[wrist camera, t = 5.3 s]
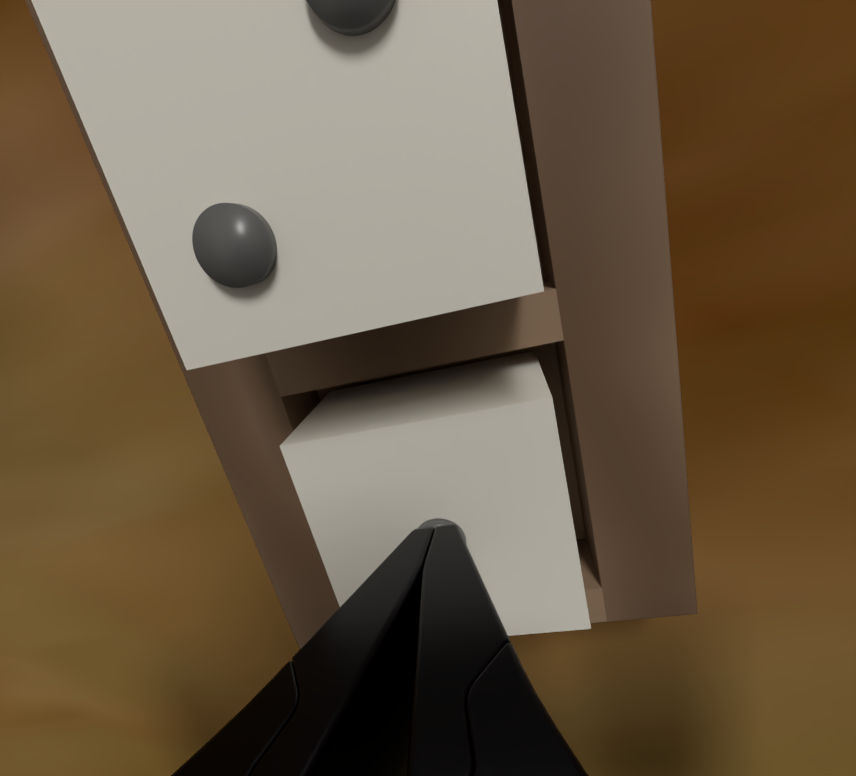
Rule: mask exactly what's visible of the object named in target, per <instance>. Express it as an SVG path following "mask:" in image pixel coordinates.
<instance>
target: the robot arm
mask: <svg viewBox="0 0 856 776" xmlns="http://www.w3.org/2000/svg"><path fill="white" fill-rule="evenodd" d="M292 661H293V662H292ZM292 661H289V662H288V663H287V664H286V665H285V666H284V667H283V668H282V669H281V670H280V671H279V672H278V673H277V674H276V675H275V676H274V678H273V679H272V680H271V681H270V682H269V683H268V684H267V685H266V686H265V687H264V688H263V689H262V690H261V691H260V692H259V693H258V694H257V695H256V696H255V697H254V698H253V699H252V700H251V701H250V702H249V703H248V704H247V705H246V706H245V707H244V708H243V709H242V710H241V711H240V712H239V713H238V714H237V715H236V716H235V717H234V718H233V719H232V720H230V721H229V722H228V723H227V724H226V725H225V726H224V727H223V728H222V729H221V730H220V731H219V732H218V733H217V734H216V735H215V736H214V737H213V738H212V739H210V740H209V741H208V742H207V743H206V744H205V745H204V746H203V747H202V748H201V749H200V750H199V751H197V752H196V753H195V754H194V755H193V756H192V757H191V758H190V759H189V760H188V761H187V762H186V763H184V764H183V765H182V766H181V767H180V768H179V769H178V770H177V771H176V772H175V773H174V774H172V775H171V776H588V775H587V773H586V772H585V770H584V768H583V767H582V765H581V764H580V762H579V761H578V759H577V758H576V756H575V755H574V753H573V752H572V750H571V749H570V747H569V745H568V744H567V742H566V741H565V739H564V738H563V736H562V735H561V733H560V732H559V730H558V729H557V727H556V726H555V724H554V722H553V721H552V719H551V717H550V716H549V714H548V712H547V711H546V709H545V707H544V706H543V704H542V702H541V701H540V699H539V697H538V696H537V694H536V692H535V690H534V688H533V686H532V684H531V683H530V681H529V679H528V677H527V675H526V673H525V671H524V669H523V667H522V665H521V663H520V660H519V658H518V656H517V654H516V652H515V649H514V647H513V645H512V644H511V641H510V639H509V637H508V635H507V633H506V630H505V628H504V626H503V624H502V622H501V619H500V617H499V615H498V613H497V611H496V608H495V606H494V604H493V602H492V600H491V598H490V595H489V593H488V591H487V589H486V587H485V584H484V582H483V580H482V578H481V576H480V573H479V571H478V569H477V567H476V565H475V563H474V560H473V558H472V556H471V554H470V552H469V549H468V547H467V545H466V543H465V541H464V538H463V536H462V534H461V532H460V530H459V528H458V526H457V525H456V524H449V525H441V526H437V527H436V528H434V527H427V528H419V529H414V530H413V531H412V532H411V533H410V534H409V535H408V536H407V537H406V538H405V539H404V540H403V541H402V542H401V543H400V544H399V545H398V546H397V547H396V548H395V550H394V551H393V552H392V553H391V554H390V555H389V556H388V557H387V558H386V559H385V560H384V561H383V562H382V563H381V564H380V565H379V566H378V568H377V569H376V570H375V571H374V572H373V573H372V574H371V575H370V576H369V577H368V578H367V579H366V580H365V581H364V582H363V583H362V584H361V586H360V587H359V588H358V589H357V590H356V591H355V592H354V593H353V594H352V595H351V596H350V597H349V598H348V599H347V600H346V601H345V603H344V604H343V605H342V606H341V607H340V608H339V609H338V610H337V611H336V612H335V613H334V614H333V615H332V616H331V617H330V618H329V619H328V621H327V622H326V623H325V624H324V625H323V626H322V627H321V628H320V629H319V630H318V631H317V632H316V633H315V634H314V635H313V636H312V637H311V639H310V640H309V641H308V642H307V643H306V644H305V645H304V646H303V647H302V648H301V649H300V650H299V651H298V652H297V653H296V654H295V655H294V657H293V658H292Z"/></svg>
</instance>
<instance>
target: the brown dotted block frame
mask: <svg viewBox="0 0 856 776" xmlns="http://www.w3.org/2000/svg"><path fill="white" fill-rule="evenodd" d="M497 2H498V8H499V14H500V20H501V27H502V33H503V39H504V45H505V51H506V58H507V64H508V70H509V76H510V82H511V89H512V95H513V101H514V107H515V113H516V120H517V126H518V132H519V138H520V144H521V151H522V157H523V163H524V169H525V175H526V182H527V188H528V194H529V200H530V206H531V213H532V219H533V225H534V231H535V237H536V243H537V250H538V256H539V262H540V268H541V274H542V281H543V287H544V292H539V293H534V294H530V295H525V296H521V297H516V298H512V299H507V300H503V301H498V302H494V303H489V304H485V305H480V306H476V307H471V308H467V309H462V310H458V311H453V312H449V313H444V314H440V315H435V316H431V317H426V318H422V319H417V320H412V321H408V322H403V323H399V324H394V325H390V326H385V327H381V328H376V329H372V330H367V331H363V332H358V333H354V334H349V335H345V336H340V337H336V338H331V339H327V340H322V341H318V342H313V343H309V344H304V345H299V346H295V347H290V348H286V349H281V350H277V351H272V352H268V353H263V354H259V355H254V356H250V357H245V358H241V359H236V360H232V361H227V362H223V363H218V364H214V365H209V366H205V367H200V368H196V369H191V370H186V368H185V365H184V363H183V360H182V358H181V356H180V353H179V351H178V349H177V346H176V344H175V341H174V339H173V337H172V334H171V332H170V329H169V327H168V325H167V322H166V320H165V318H164V315H163V313H162V310H161V308H160V306H159V303H158V301H157V299H156V296H155V294H154V291H153V289H152V287H151V284H150V282H149V279H148V277H147V275H146V272H145V270H144V268H143V265H142V263H141V260H140V258H139V256H138V253H137V251H136V249H135V246H134V244H133V241H132V239H131V237H130V234H129V232H128V229H127V227H126V225H125V222H124V220H123V218H122V215H121V213H120V210H119V208H118V206H117V203H116V201H115V198H114V196H113V194H112V191H111V189H110V187H109V184H108V182H107V179H106V177H105V175H104V172H103V170H102V168H101V165H100V163H99V160H98V158H97V156H96V153H95V151H94V148H93V146H92V144H91V141H90V139H89V137H88V134H87V132H86V129H85V127H84V125H83V122H82V120H81V118H80V115H79V113H78V110H77V108H76V106H75V103H74V101H73V98H72V96H71V94H70V91H69V89H68V87H67V84H66V82H65V79H64V77H63V75H62V72H61V70H60V67H59V65H58V63H57V60H56V58H55V56H54V53H53V51H52V48H51V46H50V44H49V41H48V39H47V37H46V34H45V32H44V29H43V27H42V25H41V22H40V20H39V17H38V15H37V13H36V10H35V8H34V6H33V3H32V1H31V0H26V3H27V5H28V8H29V10H30V12H31V15H32V17H33V19H34V22H35V24H36V26H37V29H38V31H39V34H40V36H41V38H42V41H43V43H44V45H45V48H46V50H47V52H48V55H49V57H50V60H51V62H52V64H53V67H54V69H55V71H56V74H57V76H58V78H59V81H60V83H61V86H62V88H63V90H64V93H65V95H66V97H67V100H68V102H69V104H70V107H71V109H72V111H73V114H74V116H75V119H76V121H77V123H78V126H79V128H80V130H81V133H82V135H83V137H84V140H85V142H86V145H87V147H88V149H89V152H90V154H91V156H92V159H93V161H94V163H95V166H96V168H97V171H98V173H99V175H100V178H101V180H102V182H103V185H104V187H105V189H106V192H107V194H108V197H109V199H110V201H111V204H112V206H113V208H114V211H115V213H116V215H117V218H118V220H119V223H120V225H121V227H122V230H123V232H124V234H125V237H126V239H127V241H128V244H129V246H130V249H131V251H132V253H133V256H134V258H135V260H136V263H137V265H138V267H139V270H140V272H141V275H142V277H143V279H144V282H145V284H146V286H147V289H148V291H149V293H150V296H151V298H152V301H153V303H154V305H155V308H156V310H157V312H158V315H159V317H160V319H161V322H162V324H163V327H164V329H165V331H166V334H167V336H168V338H169V341H170V343H171V345H172V348H173V350H174V353H175V355H176V357H177V360H178V362H179V364H180V367H181V369H182V371H183V374H184V376H185V379H186V381H187V383H188V386H189V388H190V390H191V393H192V395H193V397H194V400H195V402H196V405H197V407H198V409H199V412H200V414H201V416H202V419H203V421H204V423H205V426H206V428H207V431H208V433H209V435H210V438H211V440H212V442H213V445H214V447H215V449H216V452H217V454H218V457H219V459H220V461H221V464H222V466H223V468H224V471H225V473H226V475H227V478H228V480H229V483H230V485H231V487H232V490H233V492H234V494H235V497H236V499H237V501H238V504H239V506H240V509H241V511H242V513H243V516H244V518H245V520H246V523H247V525H248V527H249V530H250V532H251V535H252V537H253V539H254V542H255V544H256V546H257V549H258V551H259V553H260V556H261V558H262V561H263V563H264V565H265V568H266V570H267V572H268V575H269V577H270V579H271V582H272V584H273V587H274V589H275V591H276V594H277V596H278V598H279V601H280V603H281V605H282V608H283V610H284V613H285V615H286V617H287V620H288V622H289V624H290V627H291V629H292V631H293V634H294V636H295V639H296V641H297V643H298V646H299V648H302V647H303V646H304V645H305V644H306V643H307V642H308V641H309V640H310V639H311V637H312V636H313V635H314V634H315V633H316V632H317V631H318V630H319V629H320V628H321V627H322V626H323V625H324V624H325V623H326V622H327V621H328V619H329V618H330V617H331V616H332V615H333V614H334V613H335V612H336V611H337V610H338V609H339V608H340V606H339V604H338V601H337V598H336V596H335V593H334V590H333V588H332V585H331V582H330V580H329V577H328V574H327V572H326V569H325V566H324V564H323V561H322V558H321V556H320V553H319V550H318V548H317V545H316V542H315V540H314V537H313V534H312V532H311V529H310V526H309V524H308V521H307V518H306V516H305V513H304V510H303V508H302V505H301V502H300V500H299V497H298V494H297V492H296V489H295V486H294V484H293V481H292V478H291V476H290V473H289V470H288V468H287V465H286V462H285V460H284V457H283V454H282V452H281V449H280V445H281V444H282V443H283V442H284V441H285V440H286V439H287V437H288V436H289V435H290V434H291V433H292V432H293V431H294V430H295V429H296V428H297V427H298V426H299V424H300V423H301V422H302V421H303V420H304V419H305V418H306V417H307V416H308V415H309V414H310V413H311V411H312V410H313V409H314V408H315V407H316V406H317V405H318V404H319V403H320V402H321V401H322V400H323V398H324V397H325V396H326V395H327V394H328V393H329V392H330V391H334V390H339V389H344V388H349V387H354V386H359V385H364V384H369V383H374V382H379V381H384V380H389V379H394V378H399V377H404V376H409V375H414V374H419V373H424V372H429V371H434V370H439V369H444V368H450V367H455V366H460V365H465V364H470V363H475V362H480V361H485V360H490V359H495V358H500V357H505V356H510V355H515V354H520V353H525V352H530V351H535V353H536V356H537V359H538V361H539V364H540V367H541V369H542V372H543V374H544V377H545V380H546V382H547V385H548V387H549V390H550V393H551V395H552V398H553V404H554V410H555V416H556V422H557V428H558V434H559V440H560V446H561V452H562V458H563V464H564V470H565V476H566V482H567V488H568V494H569V500H570V506H571V512H572V518H573V524H574V530H575V536H576V541H577V547H578V553H579V559H580V565H581V571H582V577H583V583H584V589H585V595H586V601H587V607H588V613H589V619H590V623H598V622H610V621H621V620H633V619H644V618H656V617H667V616H679V615H690V614H697V602H696V589H695V576H694V563H693V549H692V536H691V523H690V510H689V497H688V484H687V471H686V458H685V445H684V432H683V418H682V405H681V392H680V379H679V366H678V353H677V340H676V327H675V314H674V301H673V287H672V274H671V261H670V248H669V235H668V222H667V209H666V196H665V183H664V170H663V157H662V143H661V130H660V117H659V104H658V91H657V78H656V65H655V52H654V39H653V26H652V12H651V0H497Z"/></svg>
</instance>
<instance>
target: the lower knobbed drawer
mask: <svg viewBox="0 0 856 776" xmlns="http://www.w3.org/2000/svg"><path fill="white" fill-rule="evenodd" d="M280 449H281V452H282V454H283V457H284V460H285V462H286V465H287V468H288V470H289V473H290V476H291V478H292V481H293V484H294V486H295V489H296V492H297V494H298V497H299V500H300V502H301V505H302V508H303V510H304V513H305V516H306V518H307V521H308V524H309V526H310V529H311V532H312V534H313V537H314V540H315V542H316V545H317V548H318V550H319V553H320V556H321V558H322V561H323V564H324V566H325V569H326V572H327V574H328V577H329V580H330V582H331V585H332V588H333V590H334V593H335V596H336V598H337V601H338V604H339V606H340V607H341V606H342V605H343V604H344V603H345V601H346V600H347V599H348V598H349V597H350V596H351V595H352V594H353V593H354V592H355V591H356V590H357V589H358V588H359V587H360V586H361V584H362V583H363V582H364V581H365V580H366V579H367V578H368V577H369V576H370V575H371V574H372V573H373V572H374V571H375V570H376V569H377V568H378V566H379V565H380V564H381V563H382V562H383V561H384V560H385V559H386V558H387V557H388V556H389V555H390V554H391V553H392V552H393V551H394V550H395V548H396V547H397V546H398V545H399V544H400V543H401V542H402V541H403V540H404V539H405V538H406V537H407V536H408V535H409V534H410V533H411V532H412V531H413V530H414V529H419V528H427V527H434V528H436V527H437V526H441V525H449V524H456V525H457V526H458V528H459V530H460V532H461V534H462V536H463V538H464V541H465V543H466V545H467V547H468V549H469V552H470V554H471V556H472V558H473V560H474V563H475V565H476V567H477V569H478V571H479V573H480V576H481V578H482V580H483V582H484V584H485V587H486V589H487V591H488V593H489V595H490V598H491V600H492V602H493V604H494V606H495V608H496V611H497V613H498V615H499V617H500V619H501V622H502V624H503V626H504V628H505V630H506V633H507V635H508V636H512V635H524V634H535V633H547V632H559V631H571V630H583V629H591V625H590V619H589V613H588V607H587V601H586V595H585V589H584V583H583V577H582V571H581V565H580V559H579V553H578V547H577V541H576V536H575V530H574V524H573V518H572V512H571V506H570V500H569V494H568V488H567V482H566V476H565V470H564V464H563V458H562V452H561V446H560V440H559V434H558V428H557V422H556V416H555V410H554V404H553V398H552V395H551V393H550V390H549V387H548V385H547V382H546V380H545V377H544V374H543V372H542V369H541V367H540V364H539V361H538V359H537V356H536V353H535V351H530V352H525V353H520V354H515V355H510V356H505V357H500V358H495V359H490V360H485V361H480V362H475V363H470V364H465V365H460V366H455V367H450V368H444V369H439V370H434V371H429V372H424V373H419V374H414V375H409V376H404V377H399V378H394V379H389V380H384V381H379V382H374V383H369V384H364V385H359V386H354V387H349V388H344V389H339V390H334V391H330V392H329V393H328V394H327V395H326V396H325V397H324V398H323V400H322V401H321V402H320V403H319V404H318V405H317V406H316V407H315V408H314V409H313V410H312V411H311V413H310V414H309V415H308V416H307V417H306V418H305V419H304V420H303V421H302V422H301V423H300V424H299V426H298V427H297V428H296V429H295V430H294V431H293V432H292V433H291V434H290V435H289V436H288V437H287V439H286V440H285V441H284V442H283V443H282V444H281V445H280Z"/></svg>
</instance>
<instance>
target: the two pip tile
mask: <svg viewBox="0 0 856 776" xmlns="http://www.w3.org/2000/svg"><path fill="white" fill-rule="evenodd" d="M31 1H32V3H33V6H34V8H35V10H36V13H37V15H38V17H39V20H40V22H41V25H42V27H43V29H44V32H45V34H46V37H47V39H48V41H49V44H50V46H51V48H52V51H53V53H54V56H55V58H56V60H57V63H58V65H59V67H60V70H61V72H62V75H63V77H64V79H65V82H66V84H67V87H68V89H69V91H70V94H71V96H72V98H73V101H74V103H75V106H76V108H77V110H78V113H79V115H80V118H81V120H82V122H83V125H84V127H85V129H86V132H87V134H88V137H89V139H90V141H91V144H92V146H93V148H94V151H95V153H96V156H97V158H98V160H99V163H100V165H101V168H102V170H103V172H104V175H105V177H106V179H107V182H108V184H109V187H110V189H111V191H112V194H113V196H114V198H115V201H116V203H117V206H118V208H119V210H120V213H121V215H122V218H123V220H124V222H125V225H126V227H127V229H128V232H129V234H130V237H131V239H132V241H133V244H134V246H135V249H136V251H137V253H138V256H139V258H140V260H141V263H142V265H143V268H144V270H145V272H146V275H147V277H148V279H149V282H150V284H151V287H152V289H153V291H154V294H155V296H156V299H157V301H158V303H159V306H160V308H161V310H162V313H163V315H164V318H165V320H166V322H167V325H168V327H169V329H170V332H171V334H172V337H173V339H174V341H175V344H176V346H177V349H178V351H179V353H180V356H181V358H182V360H183V363H184V365H185V368H186V370H191V369H196V368H200V367H205V366H209V365H214V364H218V363H223V362H227V361H232V360H236V359H241V358H245V357H250V356H254V355H259V354H263V353H268V352H272V351H277V350H281V349H286V348H290V347H295V346H299V345H304V344H309V343H313V342H318V341H322V340H327V339H331V338H336V337H340V336H345V335H349V334H354V333H358V332H363V331H367V330H372V329H376V328H381V327H385V326H390V325H394V324H399V323H403V322H408V321H412V320H417V319H422V318H426V317H431V316H435V315H440V314H444V313H449V312H453V311H458V310H462V309H467V308H471V307H476V306H480V305H485V304H489V303H494V302H498V301H503V300H507V299H512V298H516V297H521V296H525V295H530V294H534V293H539V292H544V287H543V281H542V274H541V268H540V262H539V256H538V250H537V243H536V237H535V231H534V225H533V219H532V213H531V206H530V200H529V194H528V188H527V182H526V175H525V169H524V163H523V157H522V151H521V144H520V138H519V132H518V126H517V120H516V113H515V107H514V101H513V95H512V89H511V82H510V76H509V70H508V64H507V58H506V51H505V45H504V39H503V33H502V27H501V20H500V14H499V8H498V2H497V0H31Z"/></svg>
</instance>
